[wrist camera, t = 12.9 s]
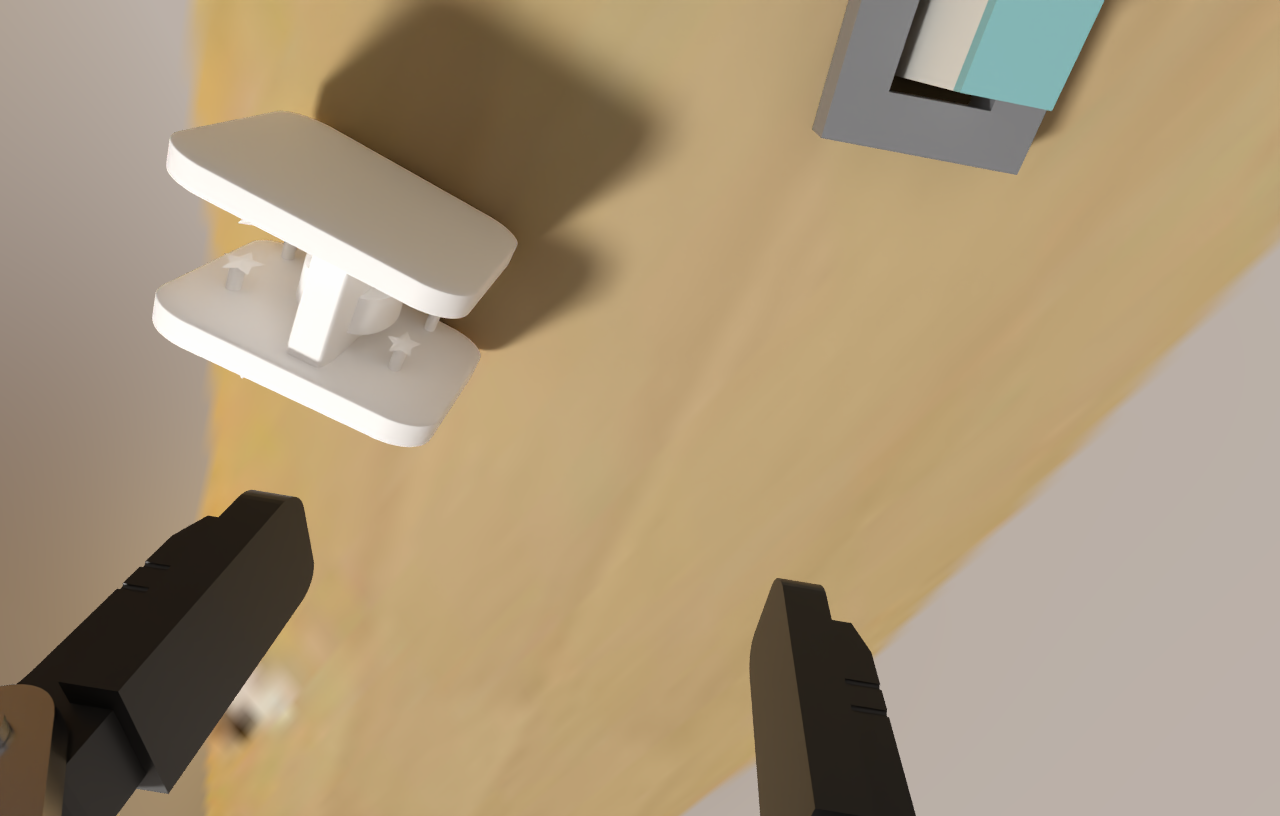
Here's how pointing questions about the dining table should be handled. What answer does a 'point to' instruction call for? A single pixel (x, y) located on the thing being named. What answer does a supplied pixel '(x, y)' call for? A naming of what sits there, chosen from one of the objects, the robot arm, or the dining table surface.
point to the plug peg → (998, 47)
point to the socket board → (912, 100)
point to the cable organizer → (333, 274)
